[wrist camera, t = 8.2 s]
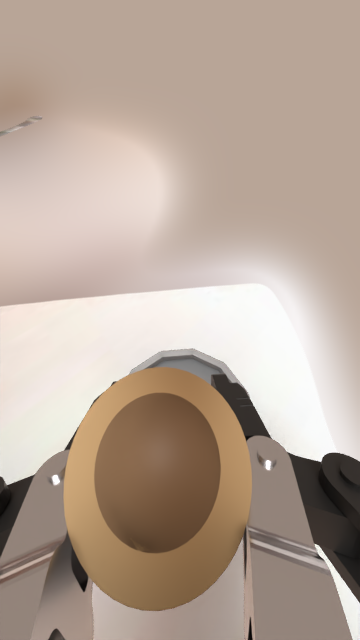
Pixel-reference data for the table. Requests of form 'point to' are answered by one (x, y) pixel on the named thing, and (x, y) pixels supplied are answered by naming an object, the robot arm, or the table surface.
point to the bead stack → (157, 488)
